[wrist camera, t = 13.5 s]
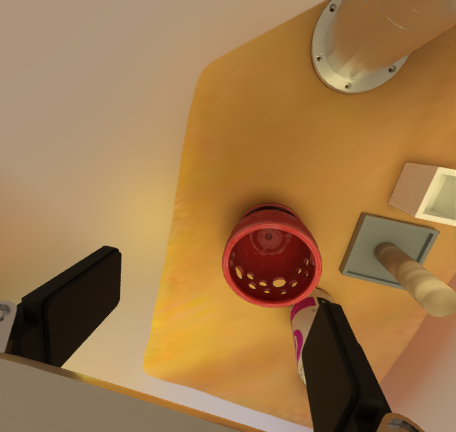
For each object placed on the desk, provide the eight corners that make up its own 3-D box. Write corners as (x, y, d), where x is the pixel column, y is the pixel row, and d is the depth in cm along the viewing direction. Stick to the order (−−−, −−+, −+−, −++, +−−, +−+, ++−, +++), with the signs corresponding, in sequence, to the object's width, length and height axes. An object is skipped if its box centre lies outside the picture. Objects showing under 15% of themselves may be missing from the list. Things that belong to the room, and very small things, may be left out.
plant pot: (223, 211, 41) (207, 236, 30) (296, 189, 38) (309, 208, 27) (245, 273, 44) (238, 318, 33) (315, 258, 41) (334, 301, 30)
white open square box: (405, 162, 34) (438, 166, 28) (452, 171, 34) (497, 178, 27) (387, 203, 37) (414, 217, 30) (431, 213, 36) (468, 228, 29)
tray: (361, 212, 38) (366, 215, 36) (432, 227, 37) (439, 231, 35) (339, 269, 41) (341, 274, 40) (403, 285, 40) (408, 290, 39)
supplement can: (288, 321, 46) (298, 399, 32) (289, 285, 44) (300, 353, 30) (331, 323, 45) (362, 406, 31) (334, 286, 42) (369, 358, 28)
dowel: (378, 239, 38) (432, 286, 25) (401, 244, 37) (467, 294, 25) (370, 258, 39) (418, 311, 27) (392, 263, 39) (451, 320, 26)
